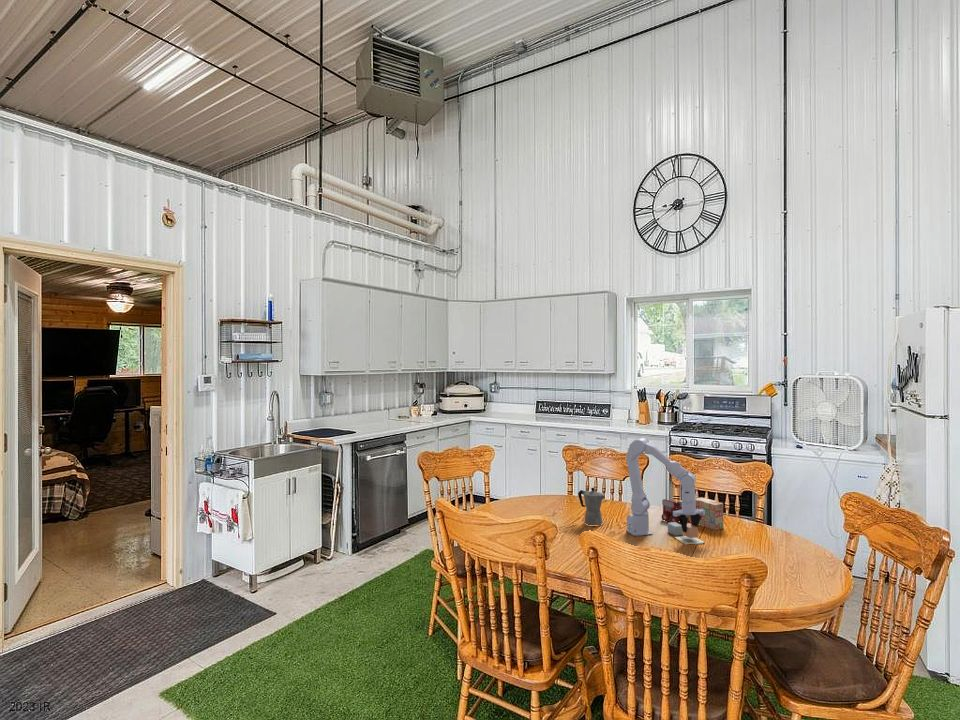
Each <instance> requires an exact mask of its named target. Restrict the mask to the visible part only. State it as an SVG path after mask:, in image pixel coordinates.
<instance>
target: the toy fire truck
mask: <svg viewBox="0 0 960 720" xmlns="http://www.w3.org/2000/svg"><path fill="white" fill-rule="evenodd" d="M661 504H662V514H661V520H662V521H663V520H665V521H668V522H669V521H670V523H671V522H676V523H678V524H679V523H680V522H679V519H678V517H675V516H673V511H678V510H682V506H680V503H679V502H678V501H674V500H669V499H666V498H663V499H662V503H661ZM685 516H686V515H685Z"/></svg>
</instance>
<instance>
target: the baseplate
mask: <svg viewBox="0 0 960 720" xmlns="http://www.w3.org/2000/svg"><path fill="white" fill-rule="evenodd" d="M675 538H676V539H677V541H678V540H679V542H680V541H681V542H683V543H684V544H683V543H682V544H683V545H685V544H686V545H685V546H688V545H687V544H695V545H704V544H703V543H705V542H704V541H703V540H701V539H700V538H698V537H696V538H689V537H687V536H685V535H682V536H674V539H675ZM676 539H675V540H676ZM681 542H680V543H681ZM705 544H706V543H705Z"/></svg>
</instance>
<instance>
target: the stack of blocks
mask: <svg viewBox="0 0 960 720" xmlns="http://www.w3.org/2000/svg"><path fill="white" fill-rule="evenodd" d="M677 502H679V503H680V506H682V499H681V500H678V501H677ZM696 509H703V510H705V515H702V514H700V516H701V520H700V521H699V523H698V524H700V525H702V526H701V527H704V526H705V527H704V528H707V527H708V528H707V529H709V530H710V529H711V530H714V531H717V530H722V529H724V503H723V502H719V501H717V500H713V499H710V498H709V499H708V498H705V497H701V496H700V497H696ZM686 518H688V521H691V517H690V515H686ZM688 521H687V522H688ZM700 525H699V526H700Z"/></svg>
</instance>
